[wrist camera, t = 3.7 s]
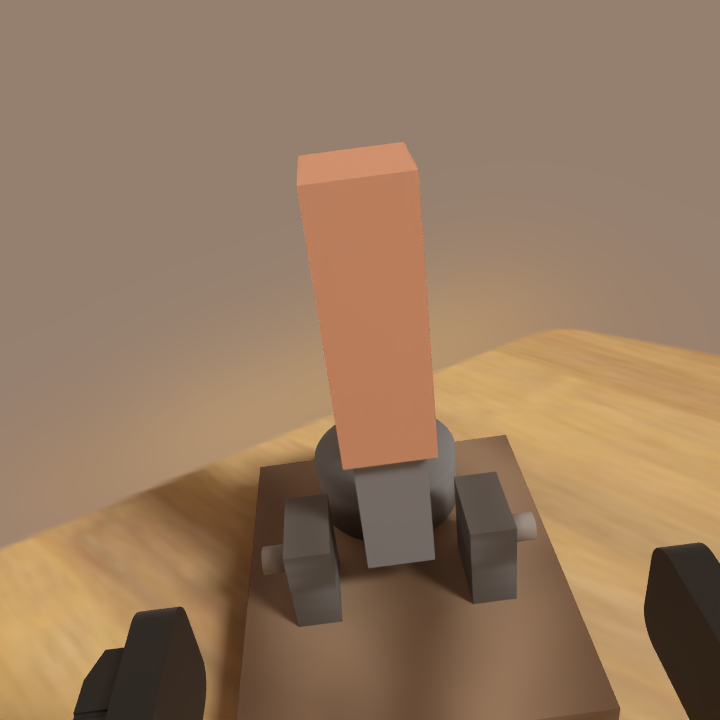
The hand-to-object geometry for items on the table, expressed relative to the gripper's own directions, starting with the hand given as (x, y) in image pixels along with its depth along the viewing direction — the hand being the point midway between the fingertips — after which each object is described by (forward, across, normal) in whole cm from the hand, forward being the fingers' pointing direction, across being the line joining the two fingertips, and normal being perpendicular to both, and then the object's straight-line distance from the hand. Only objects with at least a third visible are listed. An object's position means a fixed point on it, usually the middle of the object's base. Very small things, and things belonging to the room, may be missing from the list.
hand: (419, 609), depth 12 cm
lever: (+10, 0, +9) cm, 14 cm away
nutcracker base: (+11, 0, +13) cm, 17 cm away
